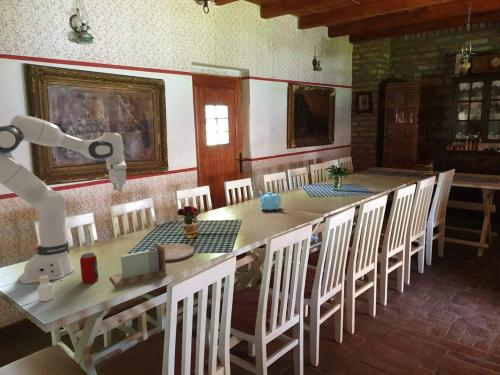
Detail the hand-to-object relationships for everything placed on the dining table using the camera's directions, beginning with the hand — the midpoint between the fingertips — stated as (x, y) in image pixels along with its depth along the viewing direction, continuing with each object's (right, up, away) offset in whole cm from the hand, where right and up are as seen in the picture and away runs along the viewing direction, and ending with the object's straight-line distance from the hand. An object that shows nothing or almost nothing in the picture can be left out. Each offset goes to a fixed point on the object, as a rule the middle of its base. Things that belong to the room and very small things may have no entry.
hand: (117, 191), depth 193 cm
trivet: (+26, -34, +5) cm, 43 cm away
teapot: (+84, -16, +100) cm, 132 cm away
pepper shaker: (-13, -43, -44) cm, 63 cm away
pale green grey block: (+18, -37, -23) cm, 47 cm away
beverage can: (-3, -40, -27) cm, 48 cm away
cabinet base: (+18, -38, -23) cm, 48 cm away
